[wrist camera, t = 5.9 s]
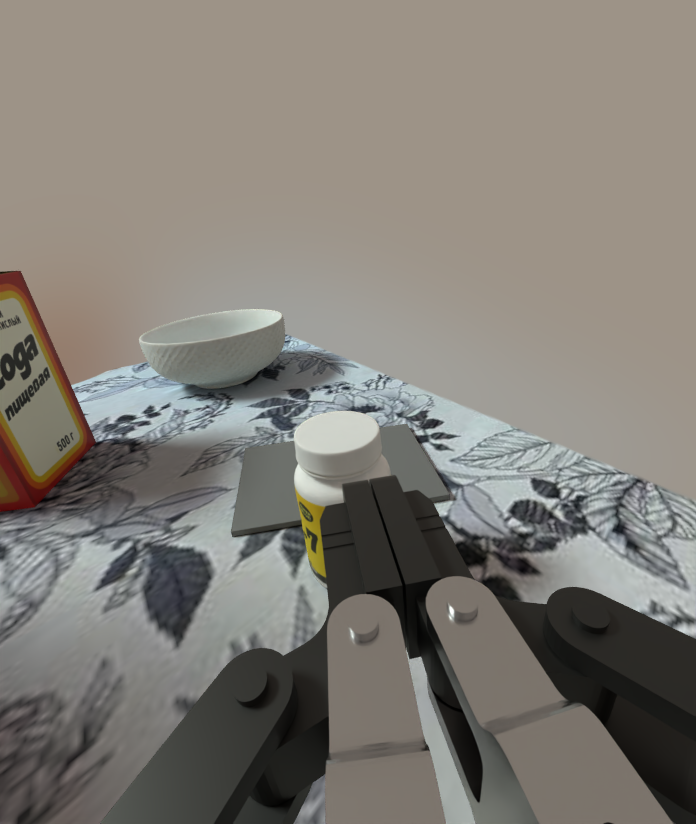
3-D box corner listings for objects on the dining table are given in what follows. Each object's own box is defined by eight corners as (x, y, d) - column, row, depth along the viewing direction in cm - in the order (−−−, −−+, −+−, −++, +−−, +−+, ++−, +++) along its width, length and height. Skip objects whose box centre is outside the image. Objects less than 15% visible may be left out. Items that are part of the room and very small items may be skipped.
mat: (449, 499, 26) (449, 494, 25) (232, 536, 24) (230, 531, 24) (406, 427, 34) (406, 423, 34) (246, 452, 33) (245, 448, 33)
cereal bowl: (297, 351, 58) (289, 302, 55) (284, 397, 43) (272, 334, 40) (183, 362, 58) (169, 314, 55) (132, 411, 43) (108, 350, 40)
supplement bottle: (307, 537, 24) (284, 413, 20) (383, 523, 24) (375, 400, 20) (313, 606, 19) (285, 466, 16) (405, 588, 20) (400, 447, 16)
